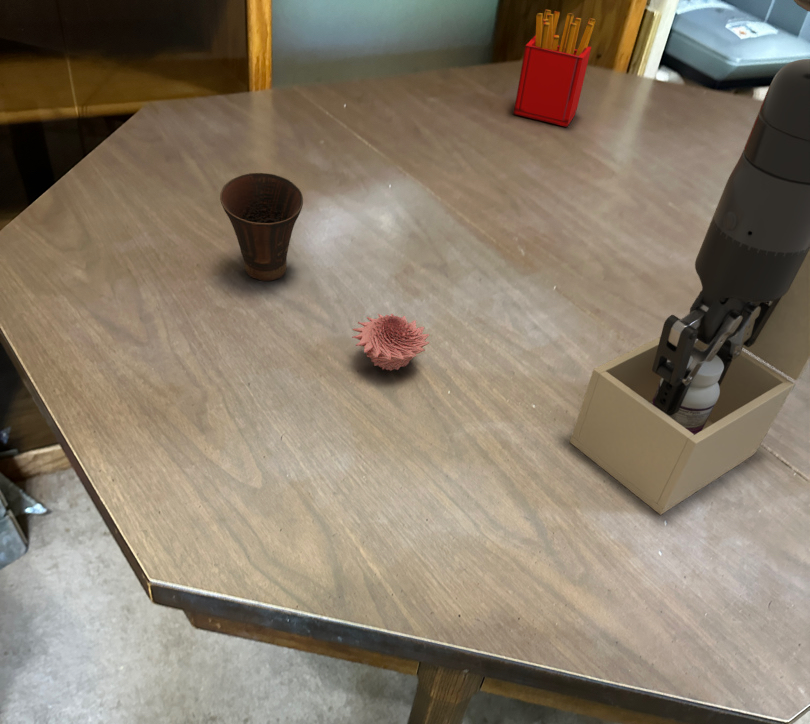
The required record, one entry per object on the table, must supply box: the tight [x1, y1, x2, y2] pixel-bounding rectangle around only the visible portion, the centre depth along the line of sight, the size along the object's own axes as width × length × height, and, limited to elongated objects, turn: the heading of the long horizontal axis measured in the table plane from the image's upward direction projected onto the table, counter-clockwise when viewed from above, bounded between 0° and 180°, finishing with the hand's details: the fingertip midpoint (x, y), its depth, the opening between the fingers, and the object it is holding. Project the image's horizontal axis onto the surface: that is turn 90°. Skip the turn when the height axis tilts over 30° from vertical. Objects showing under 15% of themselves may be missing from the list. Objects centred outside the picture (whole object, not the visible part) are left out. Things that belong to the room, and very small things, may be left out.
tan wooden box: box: [569, 336, 796, 516], centre depth 72 cm, size 15×12×9 cm
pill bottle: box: [651, 349, 724, 435], centre depth 72 cm, size 5×5×10 cm
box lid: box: [743, 249, 810, 381], centre depth 67 cm, size 15×12×6 cm
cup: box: [219, 172, 304, 282], centre depth 86 cm, size 9×9×10 cm
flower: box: [351, 313, 430, 372], centre depth 79 cm, size 8×8×6 cm
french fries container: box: [513, 9, 597, 128], centre depth 123 cm, size 7×9×14 cm
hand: (685, 397), depth 71 cm, fingers closed on pill bottle, 5 cm apart
